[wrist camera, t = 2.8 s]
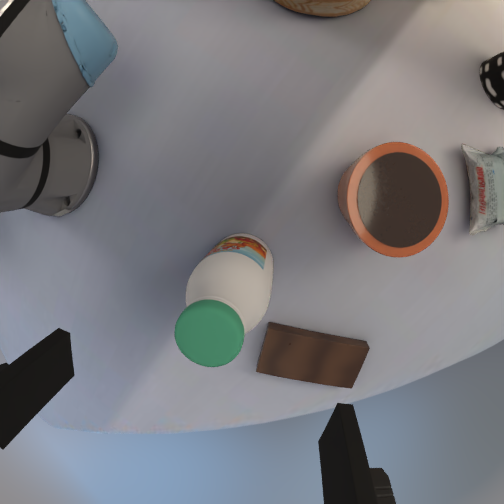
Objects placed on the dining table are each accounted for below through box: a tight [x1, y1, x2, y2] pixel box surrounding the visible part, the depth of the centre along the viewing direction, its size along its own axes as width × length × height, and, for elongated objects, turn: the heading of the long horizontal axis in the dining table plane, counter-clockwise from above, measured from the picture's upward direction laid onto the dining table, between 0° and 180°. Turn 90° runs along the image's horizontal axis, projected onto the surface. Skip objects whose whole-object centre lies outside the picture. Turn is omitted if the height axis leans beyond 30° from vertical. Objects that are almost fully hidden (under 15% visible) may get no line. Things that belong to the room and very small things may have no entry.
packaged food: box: [461, 144, 504, 235], centre depth 31 cm, size 9×12×5 cm
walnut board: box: [256, 322, 370, 388], centre depth 39 cm, size 14×7×2 cm, turn 78°
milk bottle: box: [175, 233, 274, 367], centre depth 29 cm, size 8×8×20 cm
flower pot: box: [338, 142, 449, 257], centre depth 31 cm, size 11×11×9 cm
